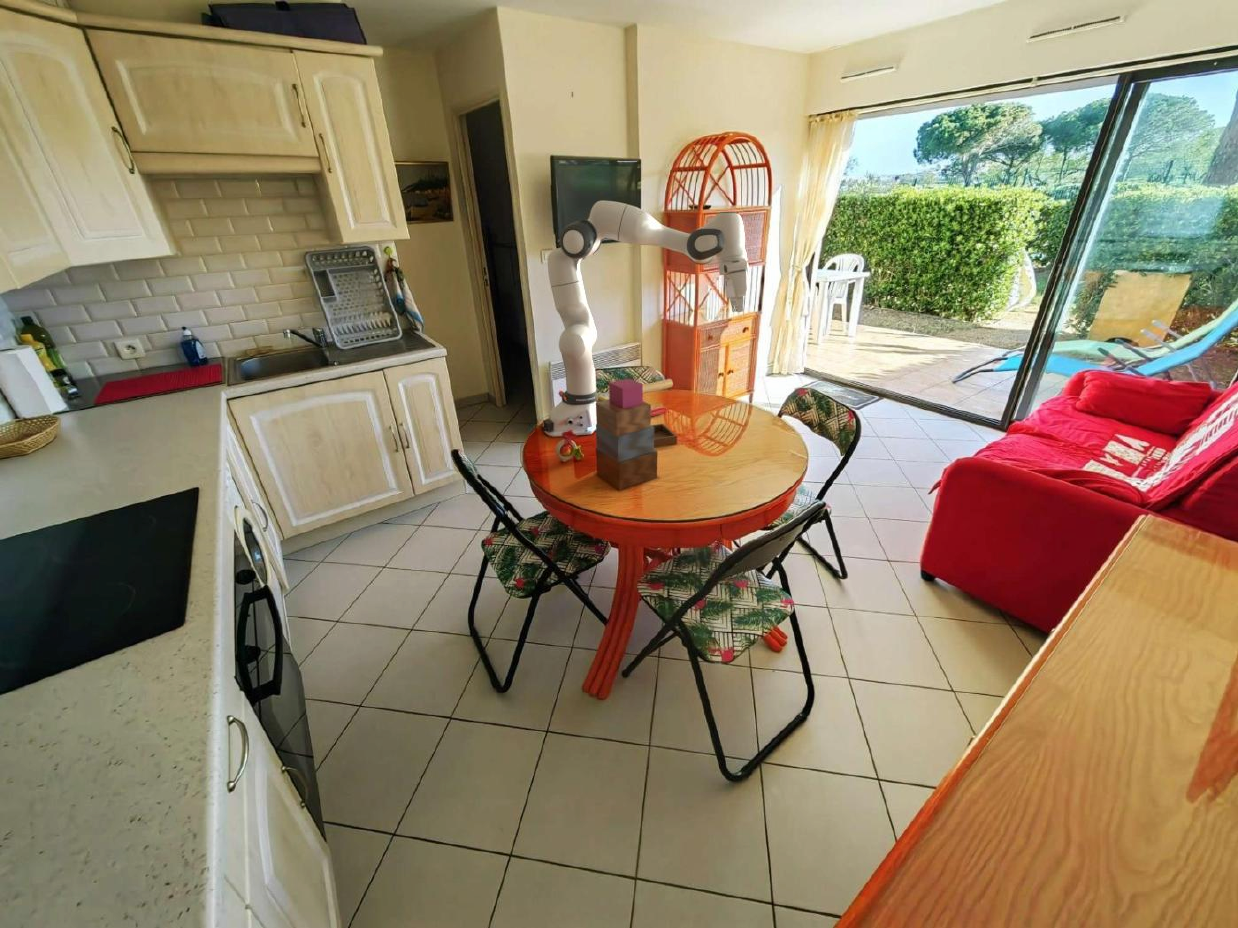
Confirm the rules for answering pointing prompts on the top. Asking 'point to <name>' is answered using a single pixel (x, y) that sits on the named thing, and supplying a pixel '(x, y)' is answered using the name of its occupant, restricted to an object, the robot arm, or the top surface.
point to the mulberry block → (633, 391)
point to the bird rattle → (564, 449)
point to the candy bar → (658, 410)
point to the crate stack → (625, 444)
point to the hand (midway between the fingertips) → (737, 312)
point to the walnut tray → (663, 436)
